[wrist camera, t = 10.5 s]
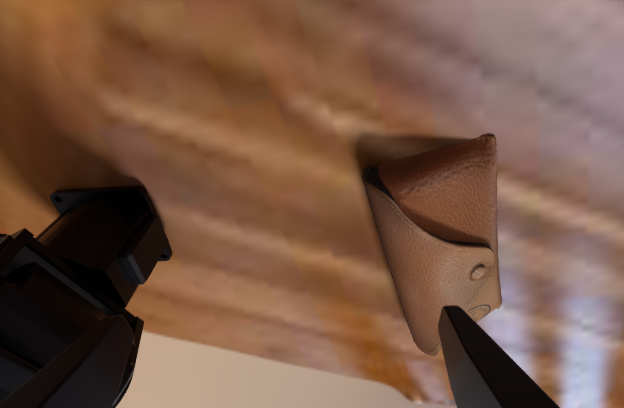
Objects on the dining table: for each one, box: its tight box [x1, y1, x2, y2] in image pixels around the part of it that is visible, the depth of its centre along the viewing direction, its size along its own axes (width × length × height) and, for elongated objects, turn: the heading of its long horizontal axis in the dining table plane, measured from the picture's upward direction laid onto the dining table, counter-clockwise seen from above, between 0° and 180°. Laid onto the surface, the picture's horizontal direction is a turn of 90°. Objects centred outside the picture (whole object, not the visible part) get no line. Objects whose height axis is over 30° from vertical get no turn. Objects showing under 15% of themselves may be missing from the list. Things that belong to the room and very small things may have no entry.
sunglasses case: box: [362, 135, 502, 356], centre depth 24 cm, size 18×7×7 cm, turn 21°
